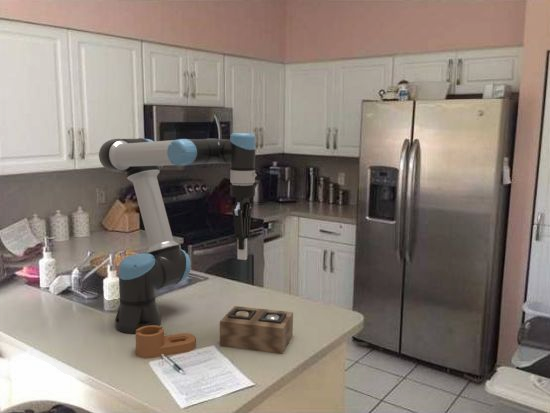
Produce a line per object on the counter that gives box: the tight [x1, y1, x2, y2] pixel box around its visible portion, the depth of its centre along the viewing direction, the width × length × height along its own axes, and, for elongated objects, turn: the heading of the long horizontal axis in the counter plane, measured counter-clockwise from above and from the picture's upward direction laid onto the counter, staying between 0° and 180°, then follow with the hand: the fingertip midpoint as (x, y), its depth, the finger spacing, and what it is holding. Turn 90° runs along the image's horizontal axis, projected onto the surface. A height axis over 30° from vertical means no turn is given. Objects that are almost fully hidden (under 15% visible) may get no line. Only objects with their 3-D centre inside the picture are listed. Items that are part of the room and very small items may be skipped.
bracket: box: [135, 325, 197, 359], centre depth 151 cm, size 18×8×7 cm, turn 114°
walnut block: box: [219, 305, 294, 355], centre depth 158 cm, size 20×14×9 cm
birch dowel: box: [236, 311, 249, 317], centre depth 159 cm, size 4×4×8 cm
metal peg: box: [266, 314, 279, 320], centre depth 157 cm, size 4×4×8 cm
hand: (242, 258), depth 156 cm, fingers closed
